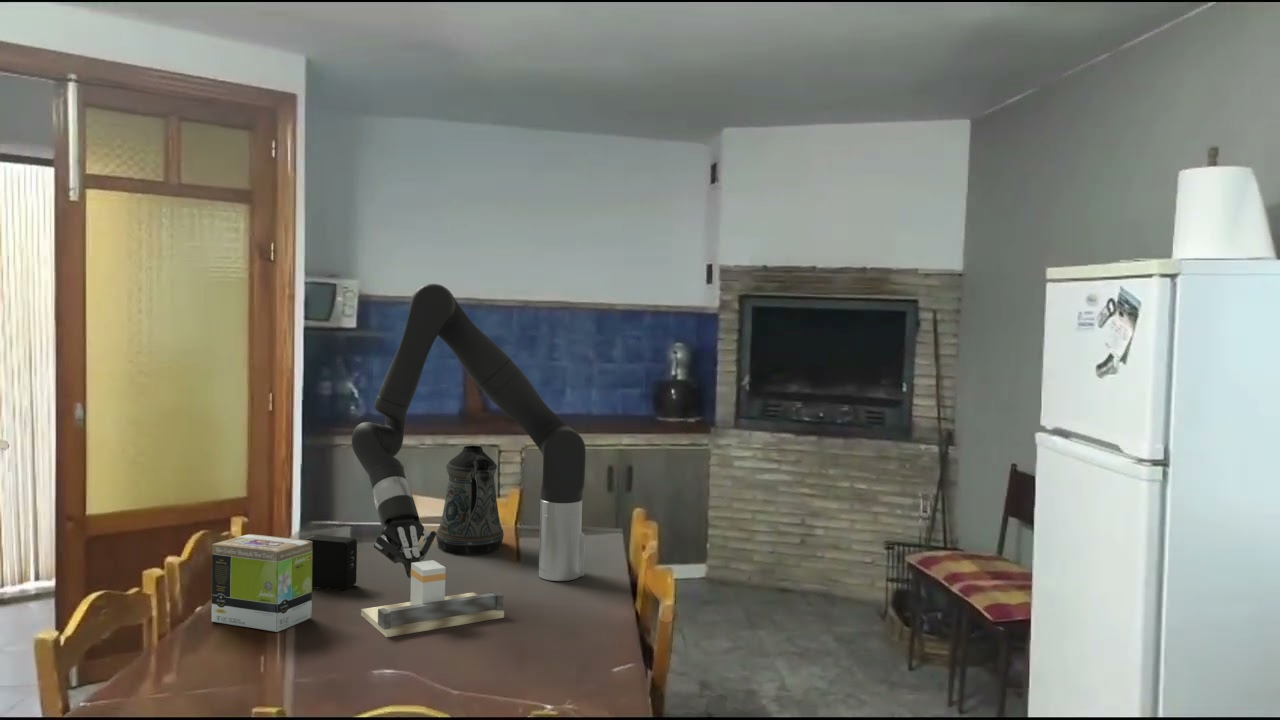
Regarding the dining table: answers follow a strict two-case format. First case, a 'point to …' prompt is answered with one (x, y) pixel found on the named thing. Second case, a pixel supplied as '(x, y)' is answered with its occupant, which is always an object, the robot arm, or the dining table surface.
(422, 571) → the module
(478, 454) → the beer stein
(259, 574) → the tea box
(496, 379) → the robot arm
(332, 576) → the electronic device
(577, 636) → the dining table surface
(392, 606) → the mount board
